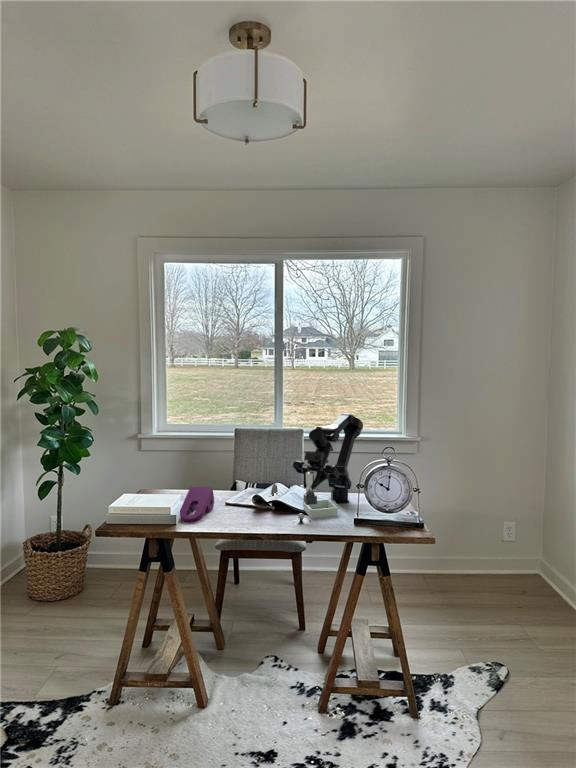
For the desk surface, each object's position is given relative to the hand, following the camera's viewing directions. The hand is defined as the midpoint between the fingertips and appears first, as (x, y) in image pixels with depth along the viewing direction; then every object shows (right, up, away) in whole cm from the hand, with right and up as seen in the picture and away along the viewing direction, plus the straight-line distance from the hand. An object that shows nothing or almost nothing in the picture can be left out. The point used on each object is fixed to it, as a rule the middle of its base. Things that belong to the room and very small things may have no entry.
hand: (308, 488), depth 190 cm
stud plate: (-3, -13, -3) cm, 14 cm away
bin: (+5, -12, +7) cm, 15 cm away
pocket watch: (-16, -11, +26) cm, 32 cm away
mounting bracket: (-45, -13, +9) cm, 48 cm away
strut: (+1, -6, +2) cm, 6 cm away
